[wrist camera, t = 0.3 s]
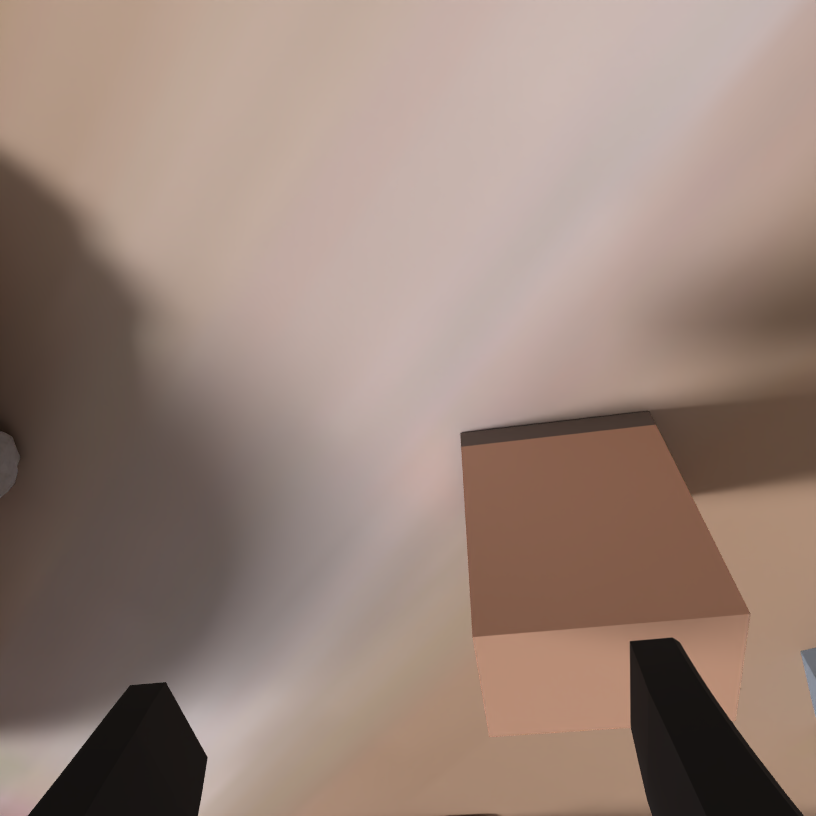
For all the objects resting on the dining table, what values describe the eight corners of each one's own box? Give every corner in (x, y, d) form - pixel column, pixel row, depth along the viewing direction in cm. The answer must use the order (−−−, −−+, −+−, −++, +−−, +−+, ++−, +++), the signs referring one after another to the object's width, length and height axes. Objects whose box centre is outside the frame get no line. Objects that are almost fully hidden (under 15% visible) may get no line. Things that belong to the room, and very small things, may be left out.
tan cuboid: (646, 503, 21) (735, 720, 15) (473, 520, 22) (489, 737, 16) (649, 410, 20) (750, 613, 13) (460, 432, 20) (472, 637, 14)
